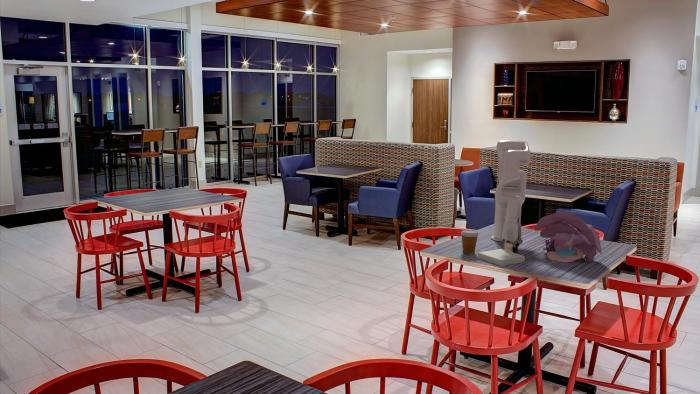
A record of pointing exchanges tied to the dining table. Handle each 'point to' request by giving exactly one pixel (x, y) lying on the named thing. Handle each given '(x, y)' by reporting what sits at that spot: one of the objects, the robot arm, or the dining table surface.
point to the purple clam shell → (568, 237)
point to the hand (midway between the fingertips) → (510, 252)
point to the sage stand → (501, 257)
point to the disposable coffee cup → (469, 241)
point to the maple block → (509, 246)
